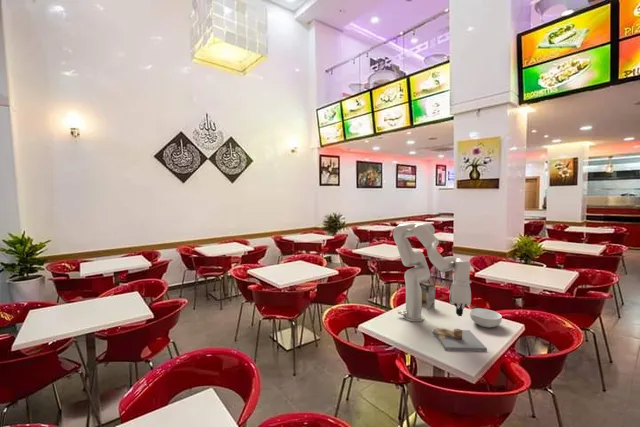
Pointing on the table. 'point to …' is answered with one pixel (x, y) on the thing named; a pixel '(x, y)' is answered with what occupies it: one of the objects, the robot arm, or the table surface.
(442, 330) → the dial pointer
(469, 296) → the robot arm
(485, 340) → the table surface
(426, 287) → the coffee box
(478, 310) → the cereal bowl
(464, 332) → the grey flat square slab
